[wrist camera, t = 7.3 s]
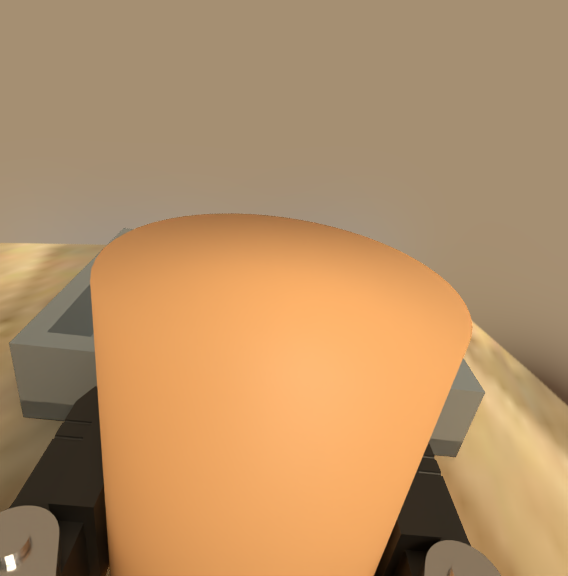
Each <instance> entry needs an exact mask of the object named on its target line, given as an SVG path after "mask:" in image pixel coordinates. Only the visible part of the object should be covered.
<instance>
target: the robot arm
mask: <svg viewBox="0 0 568 576" xmlns="http://www.w3.org/2000/svg"><path fill="white" fill-rule="evenodd" d="M108 567H109V552H108V537H107V522H106V507H105V493H104V478H103V463H102V449H101V434H100V419H99V404H98V390H97V386H95V387H94V388H92V389H91V390H90V391H88V392H87V393H86V394H85V395H83V396H82V397H81V398H79V399H78V400H77V401H76V402H75V404H74V405H73V407H72V409H71V410H70V412H69V414H68V415H67V417H66V418H65V422H64V423H62V425H61V426H60V428H59V430H58V431H57V433H56V435H55V438H54V439H52V441H51V443H50V444H49V446H48V447H47V449H46V451H45V452H44V454H43V456H42V457H41V459H40V460H39V462H38V464H37V465H36V467H35V468H34V470H33V472H32V473H31V475H30V477H29V478H28V480H27V481H26V483H25V485H24V486H23V488H22V489H21V491H20V493H19V494H18V496H17V498H16V499H15V501H14V502H13V504H12V505H11V506H10V508H9V509H7V510H5V511H2V512H0V576H105V575H106V572H107V569H108ZM374 576H501V575H500V573H499V572H498V570H497V569H496V568H495V566H494V565H493V564H492V563H491V562H490V561H489V560H488V559H487V558H486V557H485V556H484V555H483V554H482V553H480V552H479V551H478V550H476V549H474V548H473V547H471V545H470V543H469V541H468V539H467V536H466V534H465V531H464V529H463V526H462V524H461V521H460V519H459V516H458V514H457V511H456V509H455V506H454V504H453V501H452V499H451V496H450V494H449V491H448V489H447V486H446V484H445V481H444V479H443V476H441V471H440V469H439V466H438V464H437V461H436V460H434V454H433V451H432V449H431V446H430V444H429V442H428V445H427V447H426V450H425V452H424V454H423V457H422V459H421V462H420V464H419V467H418V469H417V472H416V474H415V476H414V479H413V481H412V484H411V486H410V489H409V491H408V493H407V496H406V498H405V501H404V503H403V506H402V508H401V511H400V513H399V515H398V518H397V520H396V523H395V525H394V528H393V530H392V532H391V535H390V537H389V540H388V542H387V545H386V547H385V550H384V552H383V554H382V557H381V559H380V562H379V564H378V567H377V569H376V571H375V574H374Z"/></svg>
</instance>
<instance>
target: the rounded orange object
mask: <svg viewBox="0 0 568 576" xmlns="http://www.w3.org/2000/svg"><path fill="white" fill-rule="evenodd" d="M90 287H91V302H92V316H93V331H94V346H95V360H96V375H97V390H98V404H99V419H100V434H101V449H102V463H103V478H104V493H105V507H106V522H107V537H108V552H109V566H110V576H374V574H375V571H376V569H377V567H378V564H379V562H380V559H381V557H382V554H383V552H384V550H385V547H386V545H387V542H388V540H389V537H390V535H391V532H392V530H393V528H394V525H395V523H396V520H397V518H398V515H399V513H400V511H401V508H402V506H403V503H404V501H405V498H406V496H407V493H408V491H409V489H410V486H411V484H412V481H413V479H414V476H415V474H416V472H417V469H418V467H419V464H420V462H421V459H422V457H423V454H424V452H425V450H426V447H427V445H428V442H429V440H430V437H431V435H432V433H433V430H434V428H435V425H436V423H437V420H438V418H439V416H440V413H441V411H442V408H443V406H444V403H445V401H446V398H447V396H448V394H449V391H450V389H451V386H452V384H453V381H454V379H455V377H456V374H457V372H458V369H459V367H460V364H461V362H462V359H463V357H464V355H465V352H466V350H467V347H468V345H469V342H470V340H471V334H472V322H471V317H470V314H469V311H468V309H467V307H466V304H465V303H464V301H463V300H462V299H461V297H460V296H459V294H458V293H457V292H456V291H455V290H454V289H453V288H452V287H451V285H450V284H448V283H447V282H446V281H445V280H444V279H443V278H442V277H441V276H439V275H438V274H437V273H436V272H434V271H433V270H431V269H430V268H428V267H427V266H425V265H424V264H422V263H421V262H419V261H417V260H416V259H414V258H412V257H410V256H408V255H406V254H404V253H402V252H401V251H399V250H397V249H394V248H392V247H390V246H387V245H385V244H383V243H380V242H378V241H375V240H373V239H370V238H367V237H364V236H361V235H358V234H355V233H352V232H349V231H346V230H342V229H338V228H335V227H331V226H327V225H322V224H318V223H313V222H308V221H303V220H297V219H290V218H284V217H276V216H268V215H267V216H266V215H255V214H203V215H192V216H183V217H177V218H171V219H166V220H162V221H158V222H154V223H151V224H147V225H144V226H141V227H138V228H136V229H134V230H131V231H129V232H127V233H125V234H123V235H121V236H120V237H118V238H116V239H114V240H113V241H112V242H111V243H109V244H108V245H107V246H106V247H105V248H104V249H103V250H102V251H101V252H100V253H99V255H98V256H97V257H96V259H95V261H94V264H93V266H92V268H91V277H90Z"/></svg>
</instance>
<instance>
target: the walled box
mask: <svg viewBox="0 0 568 576" xmlns="http://www.w3.org/2000/svg"><path fill="white" fill-rule="evenodd" d="M131 230H134V229H126V228H124V229H123V230H122V231H121V232H120V233H119V234H118V235H117V236H116V237H115V238H114V239H116V238H118V237H120V236H121V235H123V234H125V233H127V232H129V231H131ZM114 239H113V240H114ZM113 240H112V241H113ZM112 241H111V242H112ZM111 242H110V243H111ZM98 255H99V254H98ZM98 255H97V256H98ZM97 256H96V257H97ZM96 257H95V258H94V259H93V260H92V261H91V262H90V263H89V264H88V265H87V266H86V267H85V268H84V269H83V270H82V271H81V272H80V273H79V274H78V275H77V276H76V277H75V278H74V279H73V280H72V281H71V282H70V283H69V284H68V285H67V286H66V287H65V288H64V289H63V290H62V291H61V292H60V293H59V294H58V295H57V296H56V297H55V298H54V299H53V300H52V301H51V302H50V303H49V304H48V305H47V306H46V307H45V308H44V309H43V310H42V311H41V312H40V313H39V314H38V315H37V316H36V317H35V318H34V319H33V320H32V321H31V322H30V323H29V324H28V325H27V326H26V327H25V328H24V329H23V330H22V331H21V332H20V333H19V334H18V335H17V336H16V337H15V338H14V339H13V340H12V341H11V342H10V343H9V345H10V350H11V355H12V360H13V366H14V371H15V376H16V381H17V386H18V391H19V397H20V402H21V407H22V412H23V417H29V418H40V419H50V420H61V421H65V418H66V417H67V415H68V414H69V412H70V410H71V409H72V407H73V405H74V404H75V402H76V401H77V400H78V399H79V398H81V397H82V396H83V395H85V394H86V393H87V392H88V391H90V390H91V389H92V388H94V387H95V386H97V375H96V360H95V346H94V331H93V316H92V302H91V287H90V277H91V268H92V266H93V264H94V261H95V259H96ZM484 394H485V391H484V390H483V388H482V387H481V385H480V384H479V382H478V380H477V379H476V377H475V376H474V374H473V373H472V371H471V369H470V368H469V366H468V365H467V363H466V362H465V360H464V359H462V362H461V364H460V367H459V369H458V372H457V374H456V377H455V379H454V381H453V384H452V386H451V389H450V391H449V394H448V396H447V398H446V401H445V403H444V406H443V408H442V411H441V413H440V416H439V418H438V420H437V423H436V425H435V428H434V430H433V433H432V435H431V437H430V440H429V444H430V446H431V449H432V451H433V454H434V455H441V456H451V457H456V455H457V453H458V451H459V449H460V447H461V444H462V442H463V440H464V438H465V436H466V433H467V431H468V429H469V427H470V425H471V422H472V420H473V418H474V416H475V414H476V411H477V409H478V407H479V405H480V403H481V400H482V398H483V396H484Z"/></svg>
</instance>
